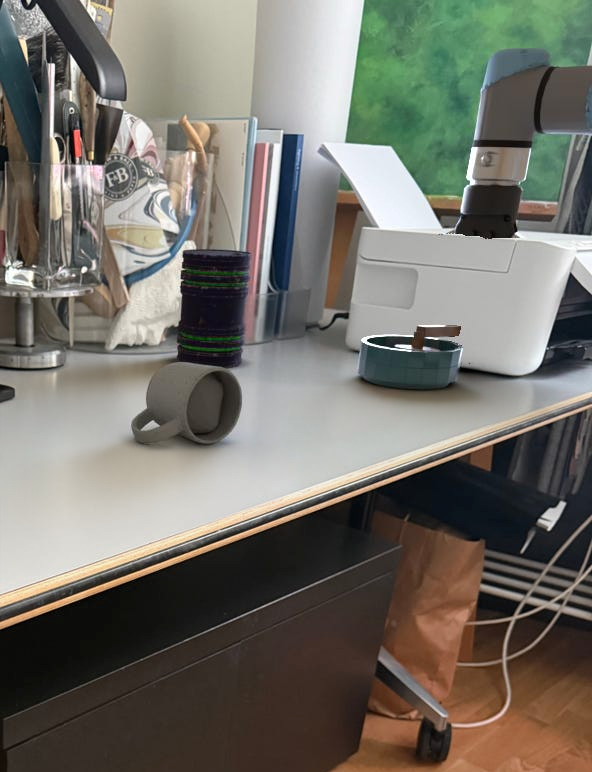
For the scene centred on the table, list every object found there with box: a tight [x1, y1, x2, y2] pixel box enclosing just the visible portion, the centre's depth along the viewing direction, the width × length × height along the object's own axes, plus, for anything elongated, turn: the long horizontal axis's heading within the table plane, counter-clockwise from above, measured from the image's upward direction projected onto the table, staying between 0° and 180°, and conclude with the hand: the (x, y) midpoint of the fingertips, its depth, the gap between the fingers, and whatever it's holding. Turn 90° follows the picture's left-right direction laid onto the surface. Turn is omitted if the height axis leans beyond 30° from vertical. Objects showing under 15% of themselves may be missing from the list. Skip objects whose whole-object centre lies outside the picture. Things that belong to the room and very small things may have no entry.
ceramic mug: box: [130, 361, 243, 445], centre depth 97 cm, size 11×8×8 cm
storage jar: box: [176, 248, 252, 369], centre depth 134 cm, size 10×10×15 cm
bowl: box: [356, 334, 463, 390], centre depth 128 cm, size 13×13×5 cm
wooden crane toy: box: [394, 324, 461, 351], centre depth 131 cm, size 18×6×7 cm, turn 134°
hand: (460, 360), depth 137 cm, fingers closed on wooden crane toy, 2 cm apart
